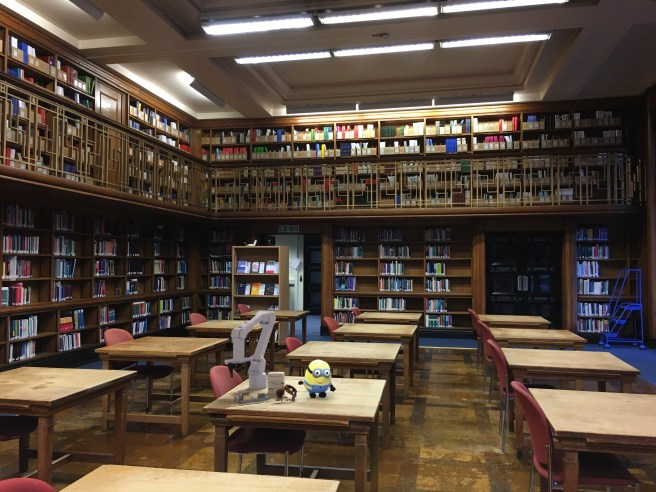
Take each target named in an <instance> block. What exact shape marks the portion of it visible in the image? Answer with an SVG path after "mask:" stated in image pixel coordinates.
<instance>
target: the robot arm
mask: <svg viewBox="0 0 656 492" xmlns="http://www.w3.org/2000/svg"><path fill="white" fill-rule="evenodd" d="M276 320H277V316H276V313H275V311H267V310H266V311H265V310H259V311H257V312H256V313H255V315H254V316H253V317H252V318H251V319H250V320H245V321H244V322H243V323H242V324H240V325H239V326H238V327H234V328H233V329H232V330H231V333H230V338H231V339H232V342H233V343H232V345H233V346H232V348H233V351H232V352H233V354H232V356H233V357H232V358H230V359H225V360H224V365H226V366H227V367H226V368H227V369H228V372H229V376H230V378H231V379H233V378H234V364H238V363H239V364H241V363H243V365H244V367H243V368H244V372H243V373H244V377H247V376H248V389H250V390H259V389H264V388H265V389H266V388H268V379H267V374H266V372H265V370H266V365H267V364H266V363H267V361H266V358H264V356H265V353H266V350H267V347H268V344H269V341H270V338H271V334H272V332H273V328H274V327H275V326H274V325H275V323H276ZM257 324H259V326H260V327H261V328H262V329H261V333H260V336H259V339H258V342H257V344H256V347H255V351H254V353H253V354H252V355H251V356H250V357H245V339H246V338H247V336H248V334H249V333H250V332H251V331H253V329H254V326H256V325H257Z"/></svg>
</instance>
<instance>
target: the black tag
mask: <svg viewBox="0 0 656 492" xmlns="http://www.w3.org/2000/svg"><path fill="white" fill-rule="evenodd" d="M265 394H266V393H265V392H261V393H260V392H259V393H257V398H264V397H265Z"/></svg>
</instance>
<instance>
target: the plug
mask: <svg viewBox="0 0 656 492" xmlns="http://www.w3.org/2000/svg"><path fill="white" fill-rule="evenodd" d="M238 392H239V397H238V399H239V400H243V396H245V395H250V391H249V390H247V389H242V390H238Z"/></svg>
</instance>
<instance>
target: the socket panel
mask: <svg viewBox="0 0 656 492" xmlns="http://www.w3.org/2000/svg"><path fill="white" fill-rule="evenodd" d="M270 398H271V397H270V396H269V395H268V394H266V393H265V397H264V398H258V397H254V396H252V395H251V399H249V400H239V397H233V400H234V401H235V402H237V404H240V405H238V407H241V406H243V404H245V406H248V405H249V406H250V403H253V402H254V403H253V405H254V404H257V402H258V401H259V402H260V401H263V402H260V404H263V403H265V401H266V400H269V401H267V403H269V402H270V400H271V399H270ZM247 403H248V404H247Z"/></svg>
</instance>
